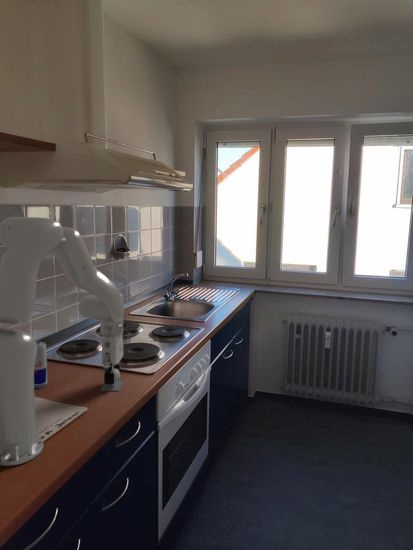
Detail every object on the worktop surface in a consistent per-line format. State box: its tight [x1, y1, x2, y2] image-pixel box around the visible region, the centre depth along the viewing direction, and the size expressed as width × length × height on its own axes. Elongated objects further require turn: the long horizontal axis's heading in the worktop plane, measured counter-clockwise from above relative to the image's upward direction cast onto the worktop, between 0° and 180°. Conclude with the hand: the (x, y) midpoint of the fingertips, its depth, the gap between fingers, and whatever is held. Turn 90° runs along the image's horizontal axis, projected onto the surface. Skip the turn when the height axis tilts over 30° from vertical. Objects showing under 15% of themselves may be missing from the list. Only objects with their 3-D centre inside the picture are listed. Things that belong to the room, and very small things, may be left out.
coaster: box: [100, 379, 125, 392], centre depth 147 cm, size 8×6×1 cm
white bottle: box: [34, 341, 48, 389], centre depth 145 cm, size 5×5×15 cm
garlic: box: [113, 368, 121, 383], centre depth 146 cm, size 6×5×5 cm
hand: (112, 379), depth 147 cm, fingers closed on garlic, 5 cm apart
